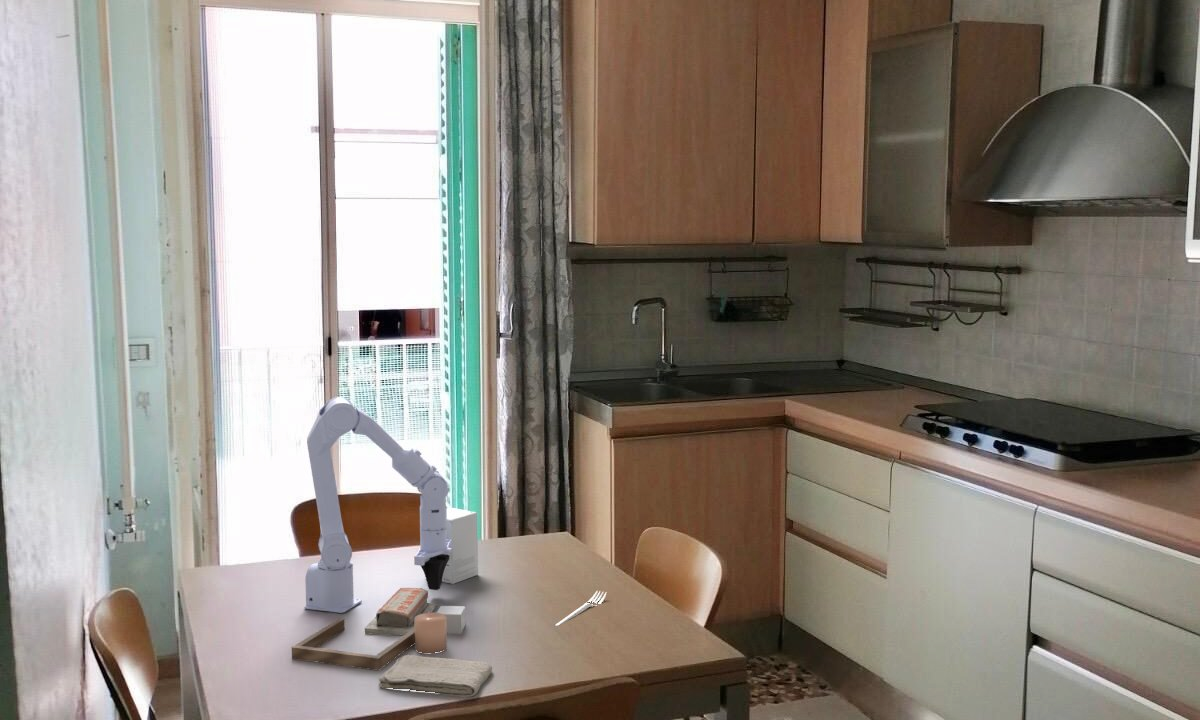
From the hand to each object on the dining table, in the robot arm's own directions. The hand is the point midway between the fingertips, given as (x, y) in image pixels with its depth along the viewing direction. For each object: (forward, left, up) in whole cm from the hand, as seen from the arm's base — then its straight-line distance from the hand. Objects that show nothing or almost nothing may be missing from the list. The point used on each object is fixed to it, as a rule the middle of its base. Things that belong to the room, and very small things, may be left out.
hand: (434, 588), depth 244 cm
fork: (+33, +1, -2) cm, 33 cm away
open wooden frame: (0, -32, -2) cm, 32 cm away
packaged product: (0, -15, -2) cm, 15 cm away
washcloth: (+21, -42, -3) cm, 47 cm away
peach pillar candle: (+13, -28, -2) cm, 31 cm away
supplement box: (-3, +15, -2) cm, 15 cm away
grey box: (+12, -17, -2) cm, 21 cm away
